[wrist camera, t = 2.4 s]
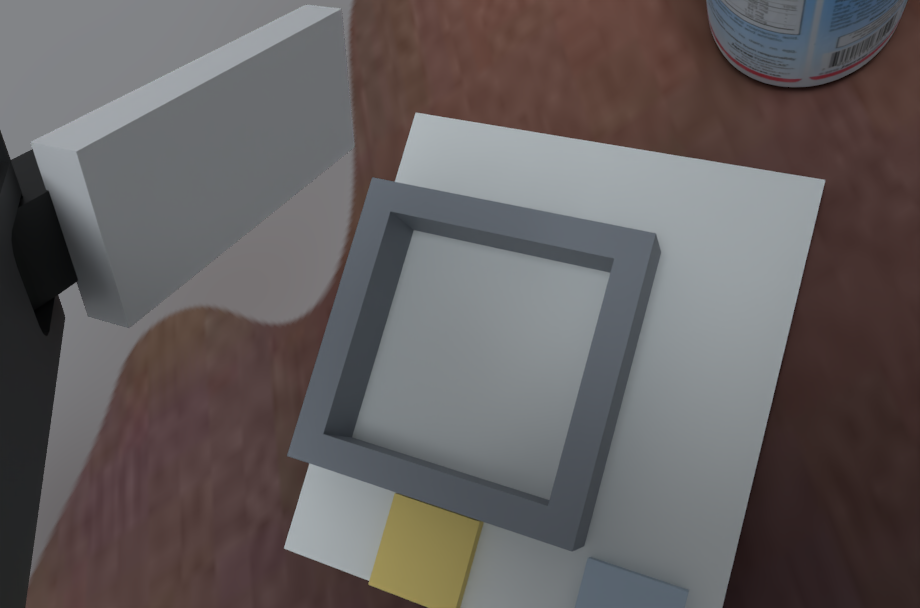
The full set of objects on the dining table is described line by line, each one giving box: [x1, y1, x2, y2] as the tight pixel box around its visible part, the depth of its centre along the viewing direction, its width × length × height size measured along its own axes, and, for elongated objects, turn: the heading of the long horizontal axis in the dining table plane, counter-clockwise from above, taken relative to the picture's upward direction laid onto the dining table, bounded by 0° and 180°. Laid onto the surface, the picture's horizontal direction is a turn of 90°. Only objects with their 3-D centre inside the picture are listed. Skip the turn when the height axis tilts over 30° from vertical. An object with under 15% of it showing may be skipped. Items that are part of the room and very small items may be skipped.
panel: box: [284, 113, 825, 608], centre depth 27 cm, size 14×16×3 cm
